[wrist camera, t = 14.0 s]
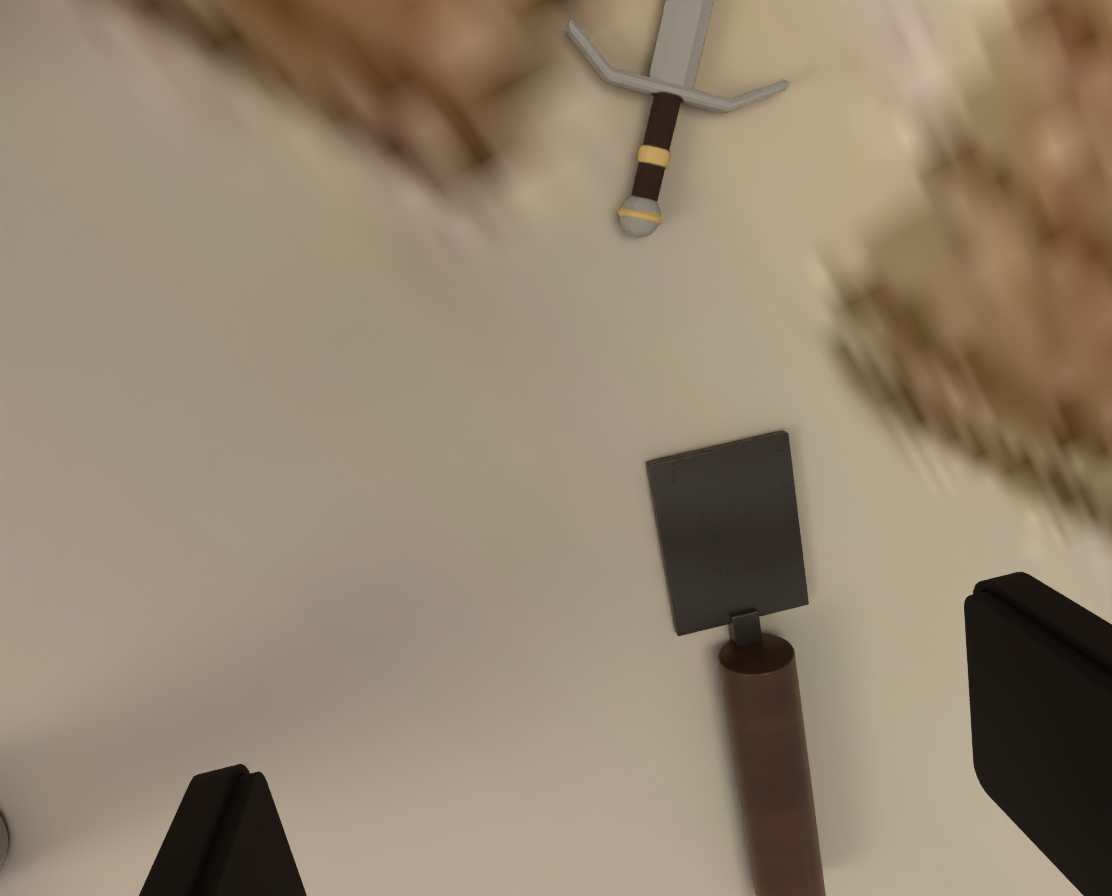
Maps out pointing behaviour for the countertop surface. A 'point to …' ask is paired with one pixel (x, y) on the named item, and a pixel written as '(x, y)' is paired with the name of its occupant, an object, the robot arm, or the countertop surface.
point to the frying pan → (665, 99)
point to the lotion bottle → (3, 842)
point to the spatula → (747, 633)
